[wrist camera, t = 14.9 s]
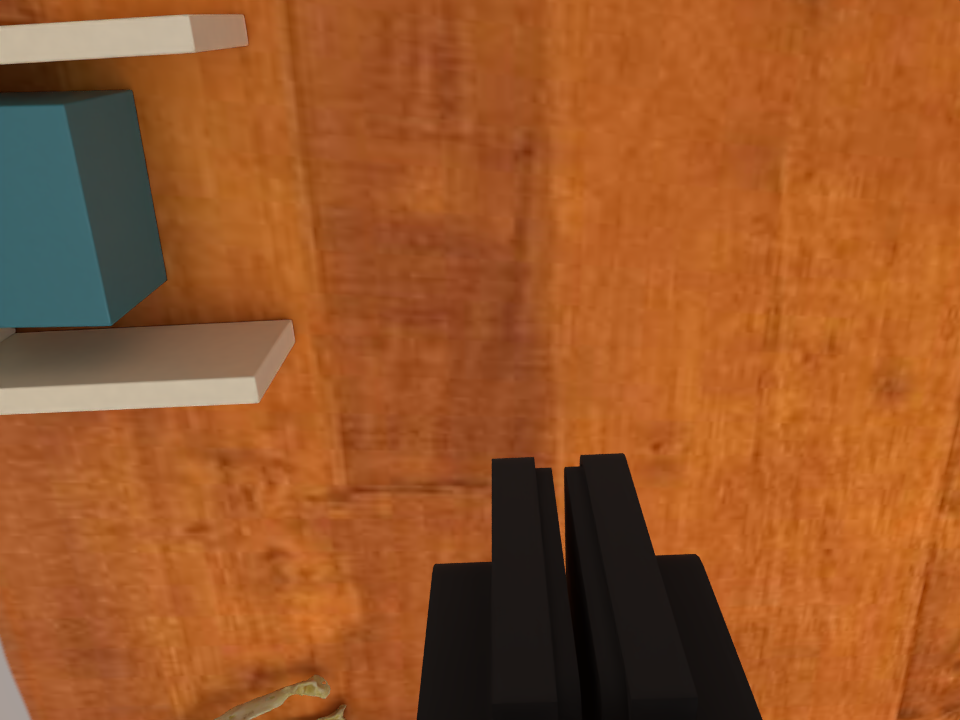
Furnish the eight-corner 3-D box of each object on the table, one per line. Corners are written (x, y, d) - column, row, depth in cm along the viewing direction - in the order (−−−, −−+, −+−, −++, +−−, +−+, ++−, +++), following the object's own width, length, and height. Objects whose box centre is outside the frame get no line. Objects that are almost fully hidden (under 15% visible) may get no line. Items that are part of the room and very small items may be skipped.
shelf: (243, 7, 27) (179, 6, 22) (296, 347, 32) (255, 417, 27) (-106, 29, 28) (-258, 33, 22) (-1, 361, 33) (-104, 433, 27)
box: (133, 89, 28) (63, 104, 24) (167, 280, 31) (111, 326, 27) (-8, 92, 29) (-104, 108, 24) (39, 282, 31) (-39, 329, 27)
